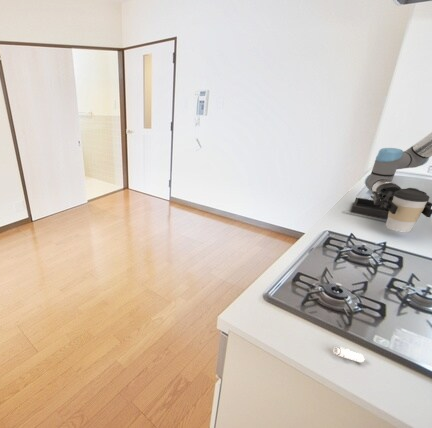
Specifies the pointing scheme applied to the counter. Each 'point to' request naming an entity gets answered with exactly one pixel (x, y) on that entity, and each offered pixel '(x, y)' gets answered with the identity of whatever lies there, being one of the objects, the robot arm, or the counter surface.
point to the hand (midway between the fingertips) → (412, 212)
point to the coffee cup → (406, 209)
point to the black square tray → (369, 208)
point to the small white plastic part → (348, 354)
